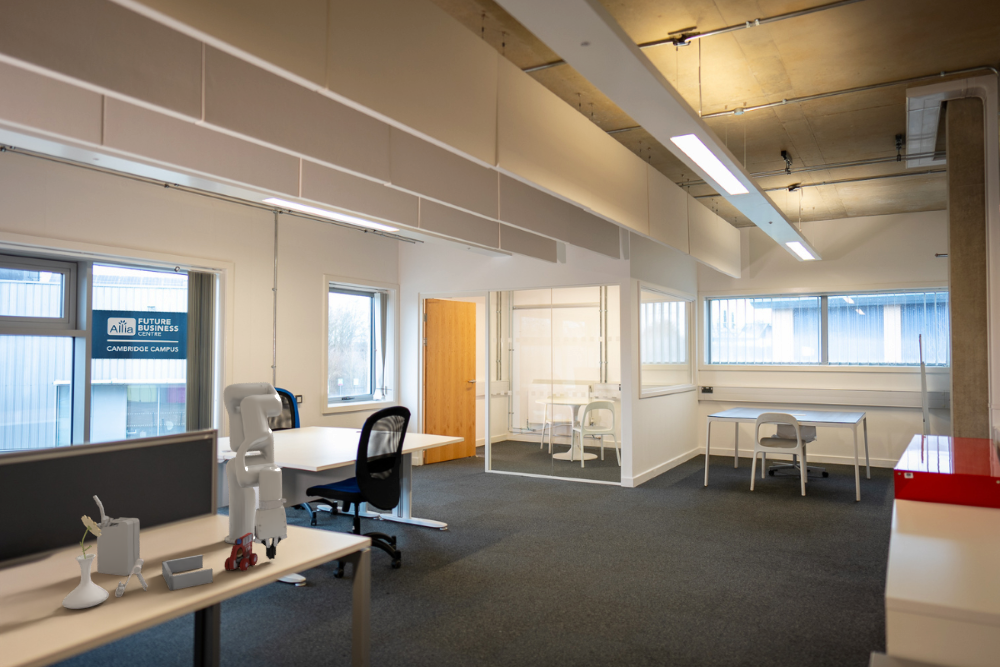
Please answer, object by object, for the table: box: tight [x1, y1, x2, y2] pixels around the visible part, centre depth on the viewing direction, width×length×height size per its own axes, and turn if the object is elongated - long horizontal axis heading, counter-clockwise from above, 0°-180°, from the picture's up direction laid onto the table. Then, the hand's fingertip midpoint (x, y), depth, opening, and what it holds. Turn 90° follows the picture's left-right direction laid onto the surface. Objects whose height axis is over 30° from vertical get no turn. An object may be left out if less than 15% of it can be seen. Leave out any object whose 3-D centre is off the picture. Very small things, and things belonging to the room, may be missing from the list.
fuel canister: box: [92, 495, 141, 577], centre depth 218 cm, size 15×5×25 cm, turn 73°
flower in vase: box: [61, 514, 110, 610], centre depth 191 cm, size 13×11×25 cm
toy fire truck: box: [223, 533, 259, 572], centre depth 220 cm, size 7×12×10 cm, turn 170°
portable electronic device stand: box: [114, 557, 148, 598], centre depth 200 cm, size 9×8×8 cm
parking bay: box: [161, 554, 214, 591], centre depth 211 cm, size 18×12×4 cm, turn 34°
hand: (271, 558), depth 225 cm, fingers closed
